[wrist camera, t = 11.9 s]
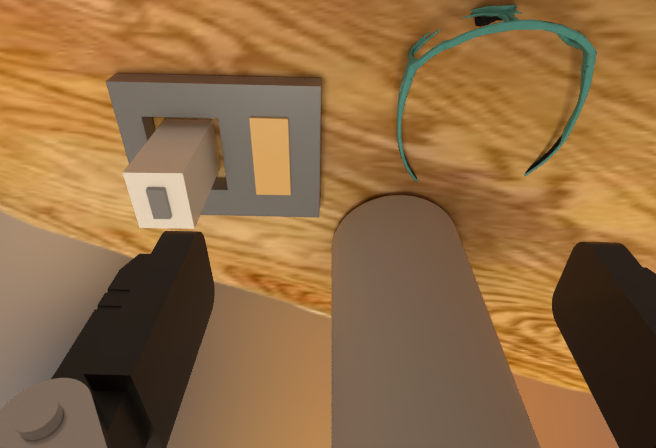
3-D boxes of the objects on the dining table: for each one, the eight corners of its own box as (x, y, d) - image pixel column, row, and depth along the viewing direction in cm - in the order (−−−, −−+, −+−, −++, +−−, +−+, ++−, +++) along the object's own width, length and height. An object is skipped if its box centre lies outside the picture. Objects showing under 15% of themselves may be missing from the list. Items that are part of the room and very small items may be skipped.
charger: (212, 119, 36) (180, 176, 29) (220, 168, 39) (193, 231, 31) (164, 118, 36) (120, 175, 29) (175, 167, 39) (137, 231, 31)
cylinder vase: (465, 189, 40) (600, 478, 20) (447, 286, 47) (532, 569, 27) (330, 192, 40) (328, 479, 20) (332, 288, 48) (333, 569, 28)
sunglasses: (597, -13, 30) (634, 9, 27) (541, 163, 40) (563, 197, 37) (395, 3, 31) (404, 26, 27) (390, 172, 41) (396, 206, 37)
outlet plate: (321, 77, 34) (320, 87, 32) (319, 205, 41) (319, 219, 39) (116, 72, 34) (104, 82, 32) (150, 201, 41) (141, 215, 39)
